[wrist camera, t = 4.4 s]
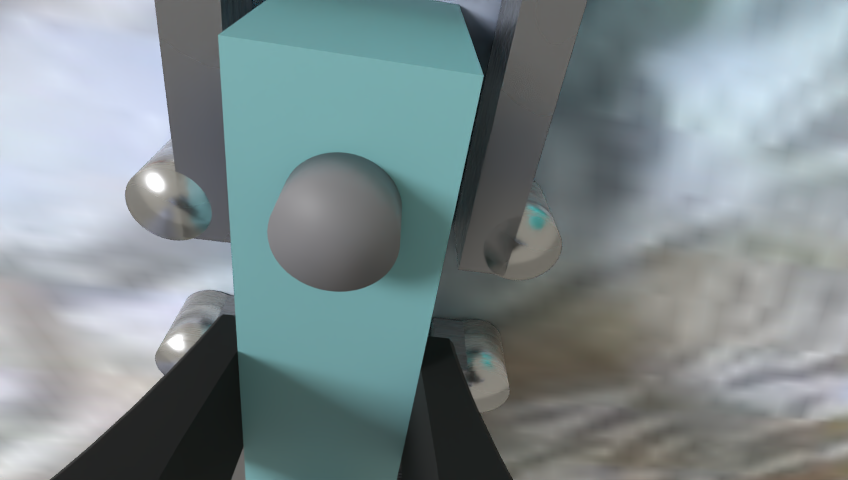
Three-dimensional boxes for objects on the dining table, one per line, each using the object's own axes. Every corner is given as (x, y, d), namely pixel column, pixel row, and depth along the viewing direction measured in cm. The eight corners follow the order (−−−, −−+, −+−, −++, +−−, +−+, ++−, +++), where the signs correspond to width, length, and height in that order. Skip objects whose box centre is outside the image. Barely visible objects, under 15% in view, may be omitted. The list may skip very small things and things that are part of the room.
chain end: (457, 475, 18) (460, 527, 17) (202, 454, 17) (182, 507, 16) (506, 323, 14) (516, 373, 13) (181, 287, 13) (150, 336, 12)
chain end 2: (533, 237, 13) (549, 284, 11) (168, 191, 12) (131, 234, 10) (648, -117, 9) (695, -118, 7) (113, -220, 8) (43, -246, 6)
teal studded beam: (386, 414, 16) (375, 607, 12) (289, 405, 16) (241, 599, 12) (459, 4, 10) (491, 98, 5) (297, -22, 10) (191, 53, 5)
